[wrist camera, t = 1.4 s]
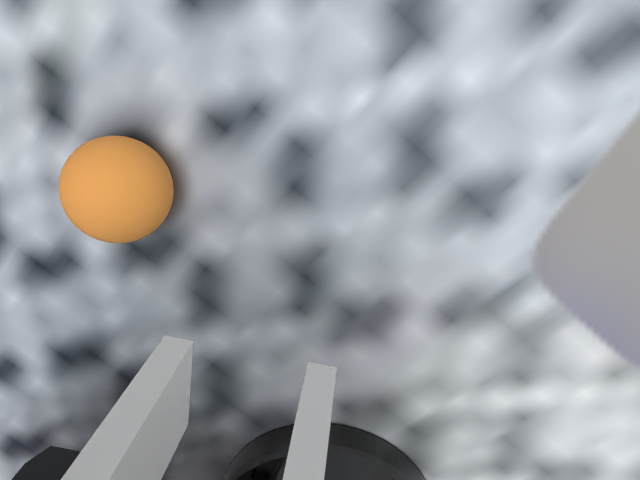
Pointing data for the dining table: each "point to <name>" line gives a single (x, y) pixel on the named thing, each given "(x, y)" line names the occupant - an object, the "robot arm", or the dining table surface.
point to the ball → (116, 189)
